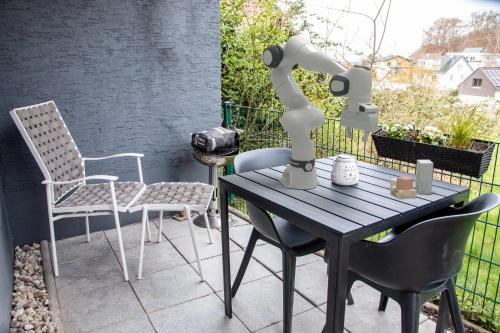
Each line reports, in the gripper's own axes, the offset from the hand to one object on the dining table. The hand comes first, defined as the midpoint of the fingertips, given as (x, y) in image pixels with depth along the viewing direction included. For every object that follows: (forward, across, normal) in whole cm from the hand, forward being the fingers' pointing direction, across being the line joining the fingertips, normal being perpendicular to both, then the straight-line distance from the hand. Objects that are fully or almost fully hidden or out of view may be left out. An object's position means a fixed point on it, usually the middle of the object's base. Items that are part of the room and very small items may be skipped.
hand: (356, 139), depth 159 cm
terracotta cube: (+24, +3, +26) cm, 36 cm away
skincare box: (+28, +2, +39) cm, 48 cm away
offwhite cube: (+28, -6, +31) cm, 42 cm away
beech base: (+28, +3, +26) cm, 39 cm away
